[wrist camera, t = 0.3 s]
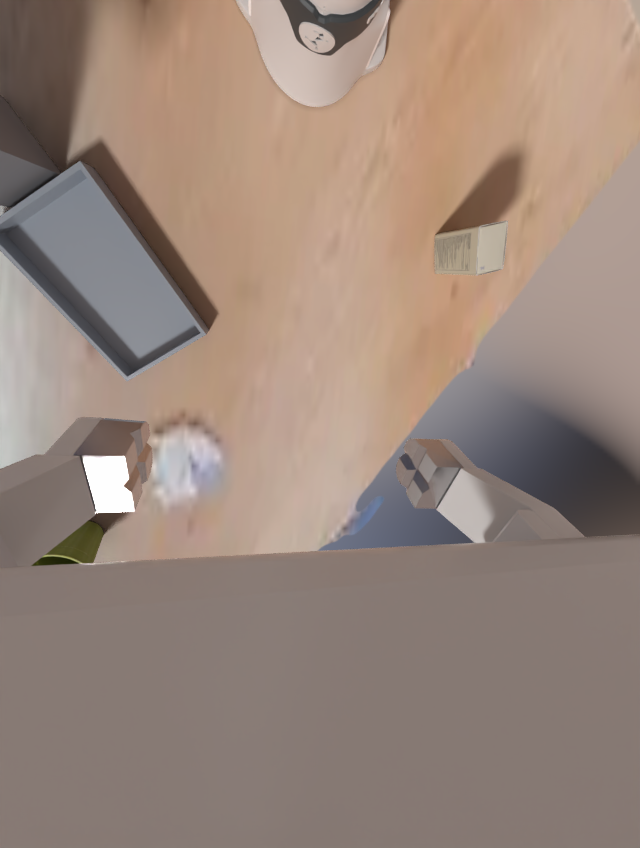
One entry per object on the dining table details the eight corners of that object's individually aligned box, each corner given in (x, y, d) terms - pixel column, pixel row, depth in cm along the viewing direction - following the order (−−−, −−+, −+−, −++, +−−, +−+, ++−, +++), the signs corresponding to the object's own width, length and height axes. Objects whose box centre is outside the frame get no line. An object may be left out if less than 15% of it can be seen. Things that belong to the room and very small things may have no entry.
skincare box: (456, 268, 53) (503, 272, 43) (433, 274, 53) (475, 278, 42) (458, 226, 50) (510, 219, 39) (434, 232, 49) (480, 225, 39)
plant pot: (120, 518, 68) (96, 561, 58) (109, 551, 72) (85, 596, 63) (59, 506, 64) (23, 550, 54) (52, 541, 68) (17, 588, 58)
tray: (209, 330, 51) (206, 334, 48) (134, 374, 53) (127, 381, 50) (93, 168, 39) (79, 160, 36) (1, 231, 40) (-20, 230, 37)
